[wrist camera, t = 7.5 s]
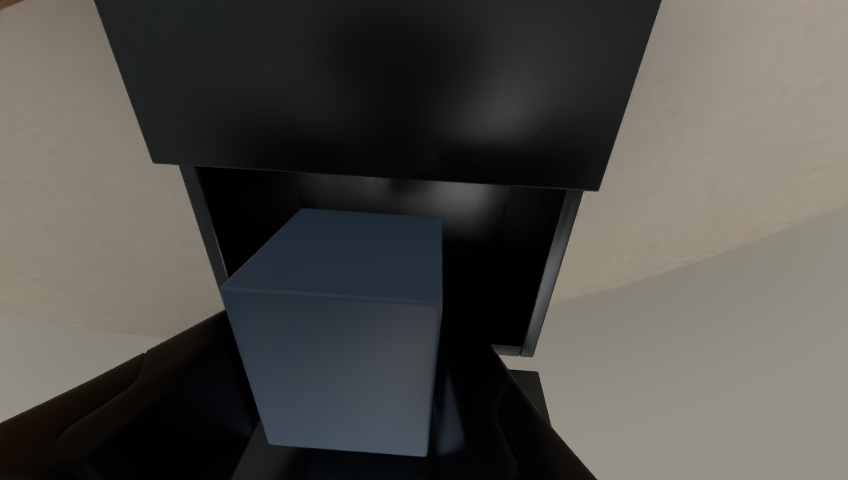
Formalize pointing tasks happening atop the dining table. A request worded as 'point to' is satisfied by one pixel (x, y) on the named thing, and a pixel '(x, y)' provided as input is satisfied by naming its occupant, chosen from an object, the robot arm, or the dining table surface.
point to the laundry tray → (7, 3)
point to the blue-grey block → (342, 330)
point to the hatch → (354, 454)
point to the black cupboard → (390, 124)
